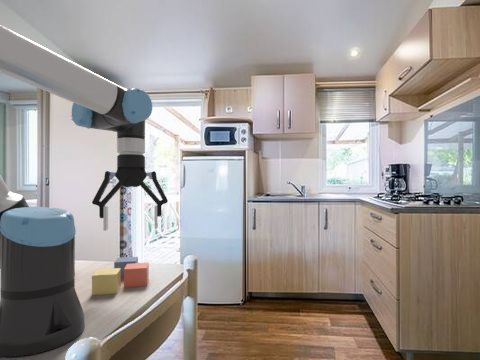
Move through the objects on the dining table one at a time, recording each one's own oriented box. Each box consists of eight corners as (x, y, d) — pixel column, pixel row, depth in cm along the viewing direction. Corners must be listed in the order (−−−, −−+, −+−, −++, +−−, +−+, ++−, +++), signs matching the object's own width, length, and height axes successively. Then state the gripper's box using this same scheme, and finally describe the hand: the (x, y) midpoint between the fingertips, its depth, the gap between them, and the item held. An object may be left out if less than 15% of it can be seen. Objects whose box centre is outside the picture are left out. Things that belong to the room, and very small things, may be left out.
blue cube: (135, 278, 95) (135, 261, 95) (114, 279, 94) (114, 262, 94) (137, 272, 101) (137, 256, 101) (117, 273, 100) (117, 257, 100)
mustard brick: (116, 293, 82) (116, 274, 82) (91, 295, 80) (91, 275, 80) (121, 286, 87) (120, 268, 88) (97, 287, 86) (97, 269, 86)
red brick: (146, 286, 87) (146, 267, 87) (123, 287, 86) (123, 269, 86) (148, 279, 93) (148, 262, 93) (127, 281, 92) (127, 263, 92)
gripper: (175, 156, 97) (175, 225, 97) (87, 154, 92) (87, 228, 91) (176, 154, 90) (176, 229, 90) (80, 152, 84) (80, 232, 84)
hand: (131, 229), depth 91 cm, fingers open, 13 cm apart
